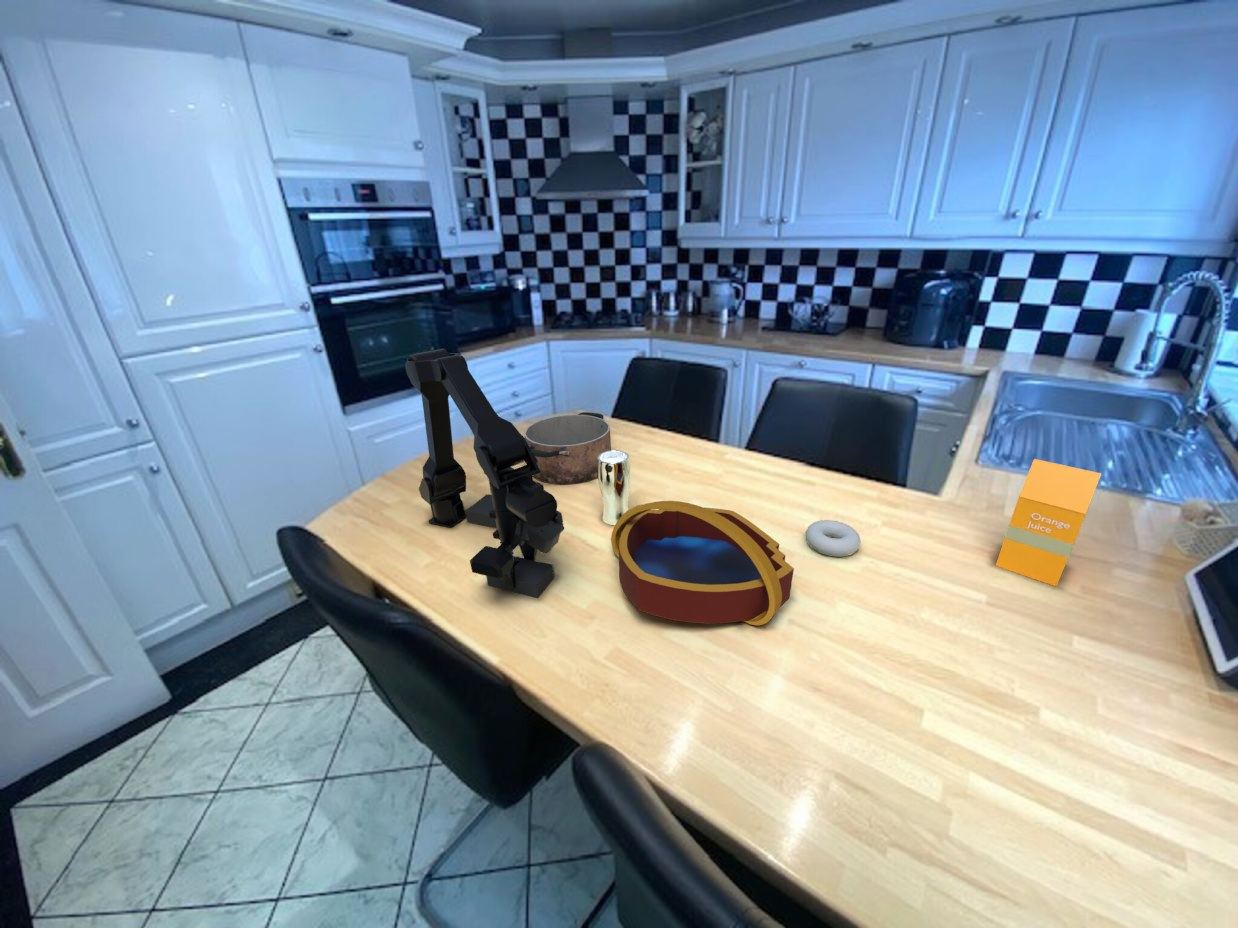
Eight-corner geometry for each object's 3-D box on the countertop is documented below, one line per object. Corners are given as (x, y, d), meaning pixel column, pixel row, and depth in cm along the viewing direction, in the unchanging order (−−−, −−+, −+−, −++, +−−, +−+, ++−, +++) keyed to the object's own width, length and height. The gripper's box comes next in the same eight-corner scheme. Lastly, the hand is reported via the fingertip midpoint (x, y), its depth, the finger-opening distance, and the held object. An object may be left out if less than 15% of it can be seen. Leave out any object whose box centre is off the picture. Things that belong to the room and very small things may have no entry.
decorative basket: (815, 597, 89) (831, 520, 84) (719, 675, 69) (733, 580, 64) (668, 530, 111) (674, 465, 107) (564, 574, 92) (566, 497, 87)
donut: (858, 565, 93) (860, 536, 101) (861, 550, 92) (862, 521, 100) (801, 553, 97) (807, 526, 105) (803, 538, 96) (809, 512, 104)
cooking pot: (579, 498, 120) (575, 457, 116) (503, 483, 129) (497, 444, 125) (630, 450, 144) (629, 415, 140) (563, 440, 153) (560, 406, 149)
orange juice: (1005, 547, 96) (1037, 451, 88) (1064, 566, 90) (1105, 465, 82) (994, 565, 91) (1028, 466, 83) (1056, 587, 85) (1099, 482, 77)
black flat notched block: (487, 585, 92) (485, 572, 91) (506, 566, 97) (504, 553, 96) (537, 598, 88) (536, 584, 87) (554, 577, 93) (552, 564, 92)
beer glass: (629, 527, 108) (626, 464, 101) (597, 525, 109) (592, 462, 103) (634, 511, 114) (632, 450, 107) (604, 509, 115) (600, 449, 109)
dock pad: (467, 522, 113) (465, 510, 111) (488, 505, 119) (486, 494, 118) (516, 532, 108) (514, 520, 107) (535, 513, 115) (534, 502, 113)
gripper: (521, 541, 75) (533, 622, 82) (577, 485, 90) (583, 557, 97) (460, 528, 79) (476, 606, 86) (524, 477, 94) (533, 546, 101)
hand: (521, 577), depth 92 cm, fingers closed on black flat notched block, 6 cm apart
